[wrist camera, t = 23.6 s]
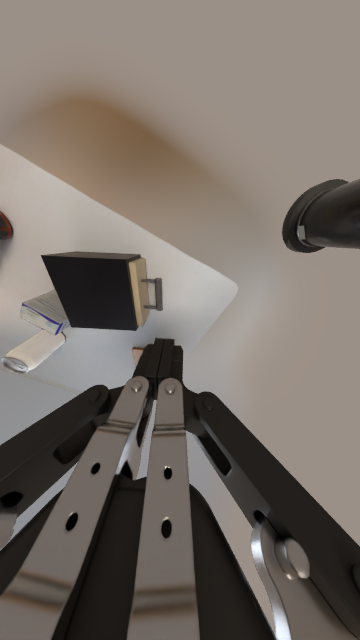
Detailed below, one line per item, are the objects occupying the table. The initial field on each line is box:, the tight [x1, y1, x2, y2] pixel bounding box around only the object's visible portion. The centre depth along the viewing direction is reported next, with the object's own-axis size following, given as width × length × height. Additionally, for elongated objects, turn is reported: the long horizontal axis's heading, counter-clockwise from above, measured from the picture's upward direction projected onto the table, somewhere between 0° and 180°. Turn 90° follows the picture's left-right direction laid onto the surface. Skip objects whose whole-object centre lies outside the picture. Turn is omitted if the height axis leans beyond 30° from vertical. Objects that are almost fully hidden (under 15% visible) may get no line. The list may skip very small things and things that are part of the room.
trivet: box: [132, 347, 144, 369], centre depth 47 cm, size 10×10×1 cm
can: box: [1, 330, 65, 374], centre depth 38 cm, size 6×6×12 cm
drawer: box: [128, 258, 163, 326], centre depth 31 cm, size 18×13×7 cm
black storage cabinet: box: [41, 252, 141, 331], centre depth 31 cm, size 15×15×9 cm
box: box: [20, 290, 70, 335], centre depth 34 cm, size 8×4×9 cm, turn 49°
